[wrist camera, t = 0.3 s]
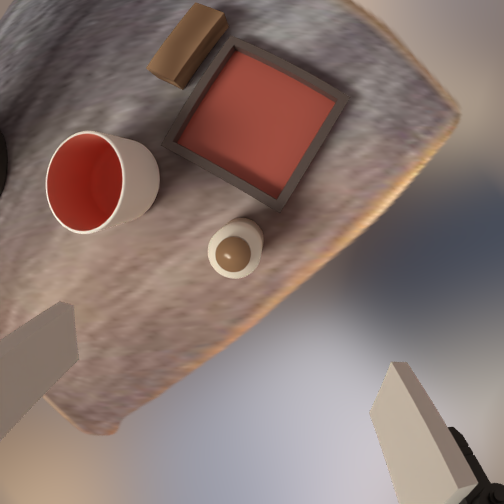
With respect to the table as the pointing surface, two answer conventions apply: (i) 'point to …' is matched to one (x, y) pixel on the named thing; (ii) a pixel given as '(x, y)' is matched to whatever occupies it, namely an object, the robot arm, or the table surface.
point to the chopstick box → (188, 45)
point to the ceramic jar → (236, 248)
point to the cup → (100, 181)
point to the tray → (255, 121)
